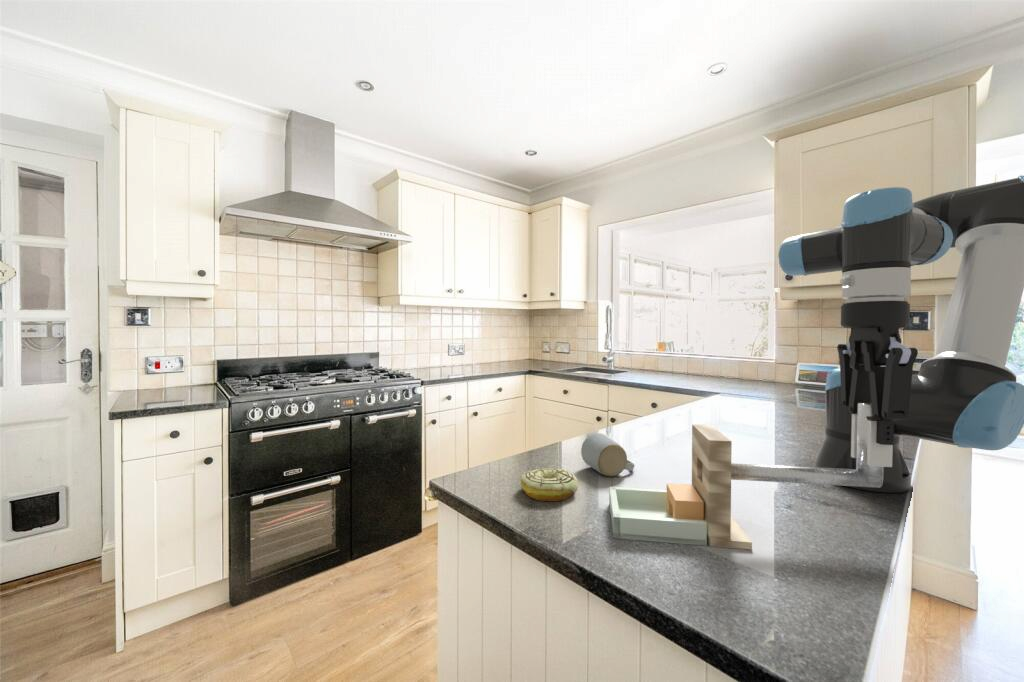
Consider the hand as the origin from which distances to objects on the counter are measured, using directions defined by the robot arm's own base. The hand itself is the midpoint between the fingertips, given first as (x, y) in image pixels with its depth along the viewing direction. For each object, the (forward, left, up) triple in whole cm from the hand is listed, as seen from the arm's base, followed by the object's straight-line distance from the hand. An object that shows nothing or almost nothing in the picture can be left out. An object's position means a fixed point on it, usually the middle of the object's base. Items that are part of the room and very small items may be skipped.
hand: (870, 461), depth 61 cm
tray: (+30, 0, -12) cm, 33 cm away
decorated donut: (+48, -10, -12) cm, 50 cm away
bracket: (+21, 0, -12) cm, 24 cm away
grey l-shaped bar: (+10, 0, -4) cm, 11 cm away
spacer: (+26, 0, -11) cm, 28 cm away
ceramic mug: (+36, -24, -12) cm, 45 cm away
